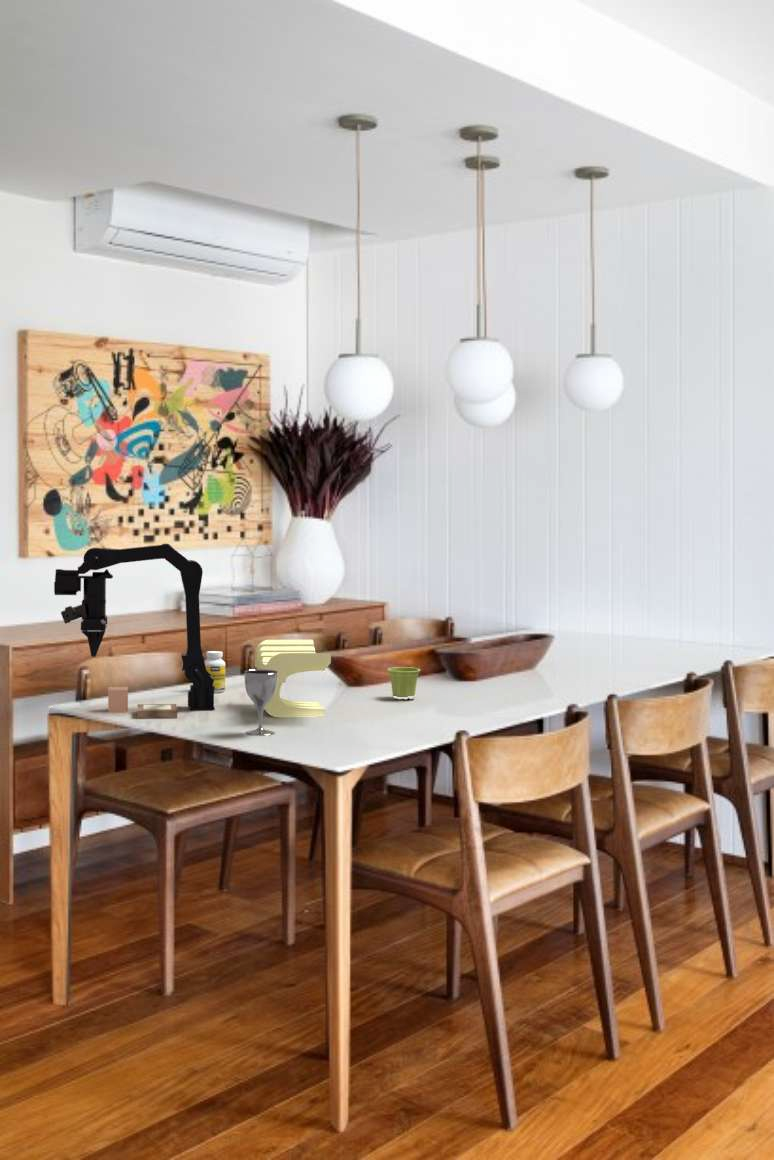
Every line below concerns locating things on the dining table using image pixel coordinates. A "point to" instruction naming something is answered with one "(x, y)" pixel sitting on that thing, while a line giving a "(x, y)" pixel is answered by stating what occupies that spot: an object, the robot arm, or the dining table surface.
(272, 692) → the wine glass
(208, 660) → the pill bottle
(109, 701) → the terracotta block
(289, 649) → the slatted curved stool
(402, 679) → the plant pot
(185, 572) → the robot arm
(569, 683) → the dining table surface
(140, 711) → the walnut plinth
